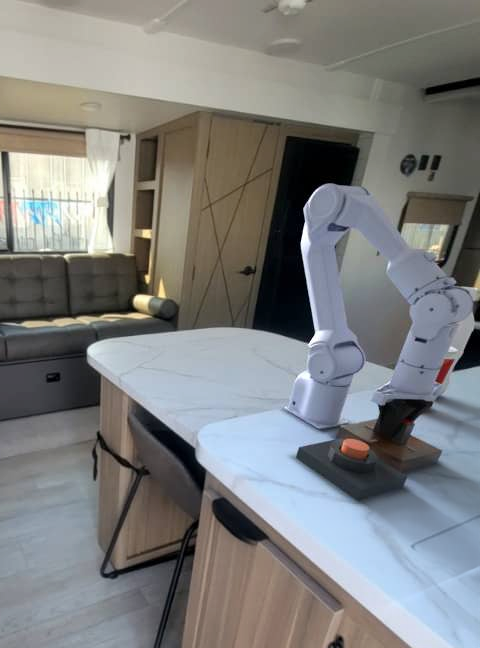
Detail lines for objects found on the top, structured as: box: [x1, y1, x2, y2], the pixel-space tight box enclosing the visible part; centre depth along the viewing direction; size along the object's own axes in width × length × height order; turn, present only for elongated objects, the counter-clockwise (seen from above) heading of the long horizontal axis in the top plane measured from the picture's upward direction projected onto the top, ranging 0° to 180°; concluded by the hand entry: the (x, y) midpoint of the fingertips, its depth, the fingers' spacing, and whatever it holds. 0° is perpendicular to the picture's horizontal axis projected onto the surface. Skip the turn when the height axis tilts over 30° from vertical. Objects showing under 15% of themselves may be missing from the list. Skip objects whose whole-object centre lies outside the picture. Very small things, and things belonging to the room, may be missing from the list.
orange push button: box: [341, 439, 370, 459], centre depth 65 cm, size 4×4×2 cm
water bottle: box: [436, 286, 479, 397], centre depth 92 cm, size 7×7×25 cm
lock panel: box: [336, 418, 443, 473], centre depth 73 cm, size 12×10×3 cm
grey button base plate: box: [295, 438, 408, 502], centre depth 66 cm, size 12×10×4 cm
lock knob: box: [373, 413, 416, 445], centre depth 72 cm, size 5×2×4 cm, turn 21°
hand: (390, 434), depth 72 cm, fingers closed on lock knob, 2 cm apart
